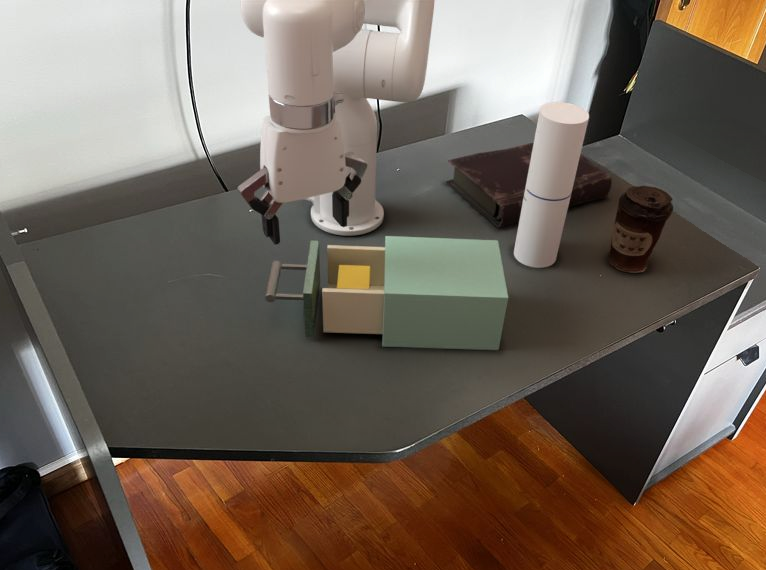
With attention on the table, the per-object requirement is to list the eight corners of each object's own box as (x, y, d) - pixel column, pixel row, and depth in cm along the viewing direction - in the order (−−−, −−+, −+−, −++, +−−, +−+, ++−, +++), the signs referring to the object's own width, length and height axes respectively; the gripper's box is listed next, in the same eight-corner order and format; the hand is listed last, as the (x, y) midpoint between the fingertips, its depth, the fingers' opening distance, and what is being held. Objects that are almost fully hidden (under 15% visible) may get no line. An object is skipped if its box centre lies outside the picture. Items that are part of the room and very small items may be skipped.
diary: (608, 200, 138) (615, 176, 135) (500, 231, 128) (504, 206, 125) (547, 156, 150) (552, 133, 146) (443, 182, 140) (445, 157, 136)
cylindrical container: (529, 271, 120) (558, 127, 103) (505, 248, 124) (530, 106, 108) (564, 261, 123) (599, 119, 106) (540, 239, 127) (569, 99, 110)
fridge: (382, 346, 104) (384, 293, 98) (383, 287, 114) (385, 235, 108) (498, 350, 105) (508, 297, 99) (489, 291, 115) (498, 240, 109)
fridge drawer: (265, 335, 103) (261, 291, 98) (276, 281, 112) (272, 238, 107) (415, 340, 104) (419, 296, 99) (413, 286, 114) (417, 244, 108)
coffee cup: (642, 285, 119) (665, 216, 110) (594, 267, 122) (613, 198, 113) (659, 260, 125) (682, 192, 116) (613, 243, 128) (632, 175, 119)
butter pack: (337, 315, 106) (336, 287, 102) (339, 292, 110) (339, 264, 106) (368, 316, 106) (369, 289, 102) (369, 293, 110) (370, 265, 107)
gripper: (352, 84, 93) (352, 202, 105) (220, 107, 86) (235, 231, 98) (381, 108, 89) (377, 229, 100) (243, 134, 82) (256, 261, 93)
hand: (307, 230), depth 99 cm, fingers open, 9 cm apart
